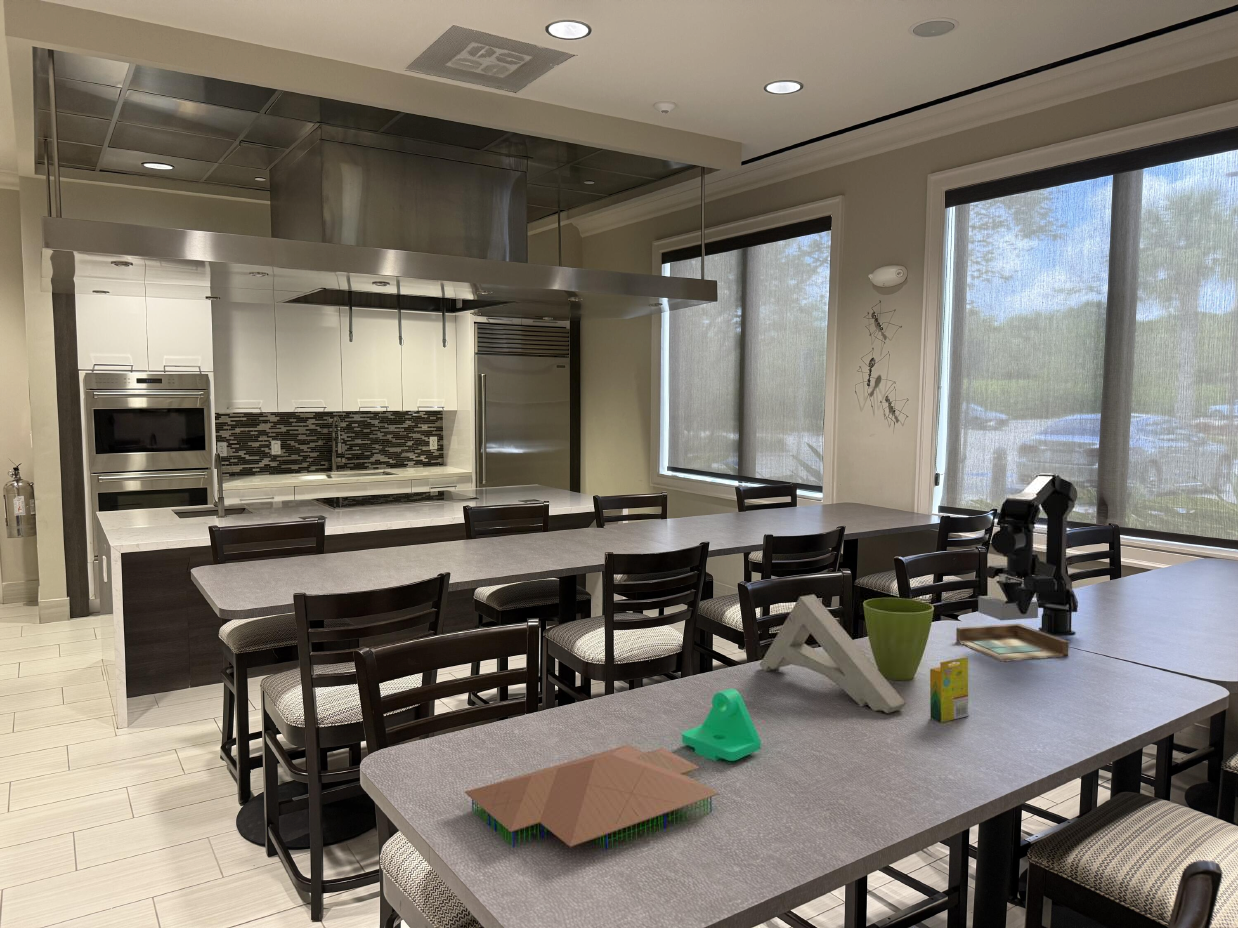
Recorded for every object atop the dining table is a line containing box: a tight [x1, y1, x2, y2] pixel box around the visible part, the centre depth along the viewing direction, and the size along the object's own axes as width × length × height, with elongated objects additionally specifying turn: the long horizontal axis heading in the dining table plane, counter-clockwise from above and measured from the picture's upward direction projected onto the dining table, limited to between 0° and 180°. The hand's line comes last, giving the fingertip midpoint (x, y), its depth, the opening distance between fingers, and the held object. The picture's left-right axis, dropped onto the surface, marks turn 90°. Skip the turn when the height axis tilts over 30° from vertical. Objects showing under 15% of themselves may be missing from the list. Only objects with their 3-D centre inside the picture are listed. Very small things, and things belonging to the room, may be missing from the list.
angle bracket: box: [977, 595, 1039, 621], centre depth 207 cm, size 10×9×4 cm
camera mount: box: [681, 688, 762, 762], centre depth 146 cm, size 12×8×10 cm, turn 43°
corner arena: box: [955, 623, 1070, 662], centre depth 208 cm, size 18×18×4 cm
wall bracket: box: [759, 593, 907, 714], centre depth 179 cm, size 22×4×30 cm
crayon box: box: [929, 656, 969, 724], centre depth 161 cm, size 7×3×12 cm, turn 115°
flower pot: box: [862, 597, 935, 681], centre depth 187 cm, size 15×15×16 cm
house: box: [464, 744, 720, 851], centre depth 125 cm, size 23×33×8 cm
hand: (1019, 612), depth 204 cm, fingers closed on angle bracket, 3 cm apart
